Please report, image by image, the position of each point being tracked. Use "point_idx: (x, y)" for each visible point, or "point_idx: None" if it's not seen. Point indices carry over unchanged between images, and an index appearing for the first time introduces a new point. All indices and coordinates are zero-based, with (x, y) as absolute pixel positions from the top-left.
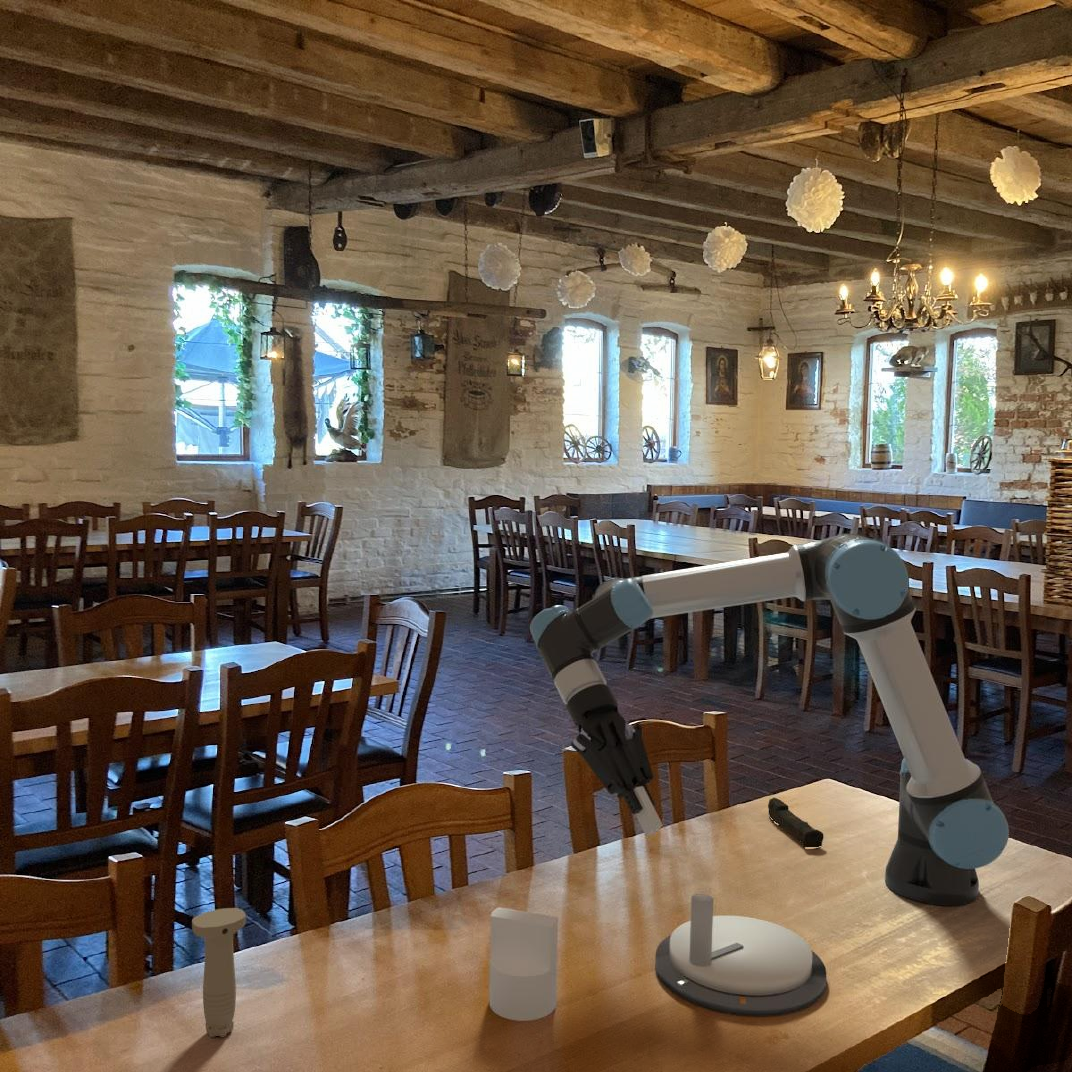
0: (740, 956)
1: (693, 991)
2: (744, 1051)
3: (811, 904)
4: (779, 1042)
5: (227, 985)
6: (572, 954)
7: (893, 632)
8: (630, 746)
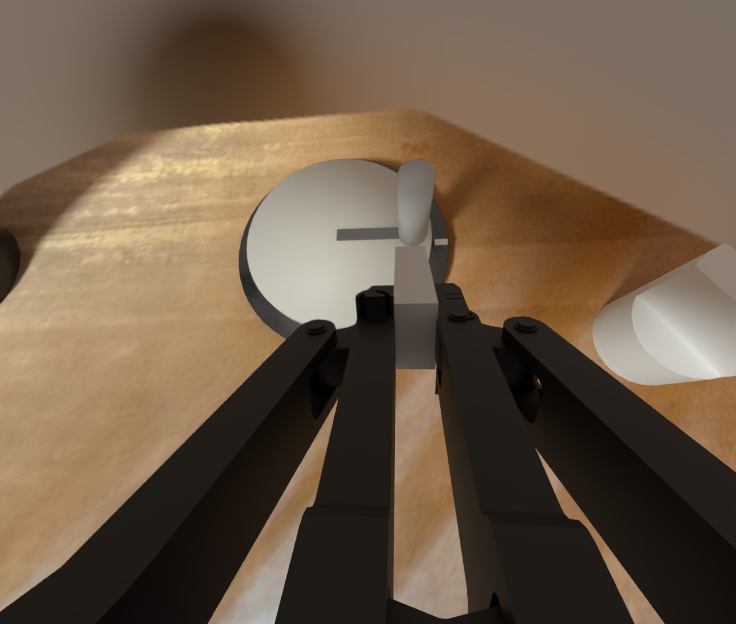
0: (359, 217)
1: (442, 224)
2: (460, 146)
3: (113, 328)
4: (419, 141)
5: None
6: None
7: None
8: (202, 602)
